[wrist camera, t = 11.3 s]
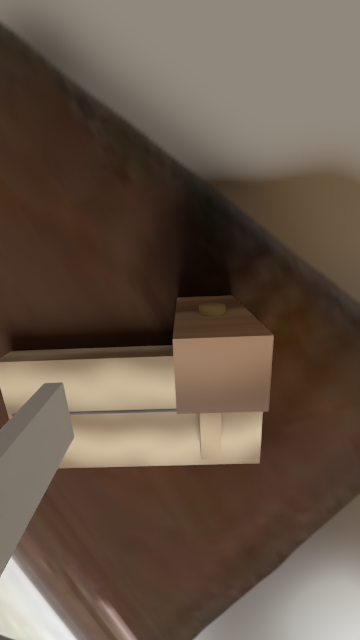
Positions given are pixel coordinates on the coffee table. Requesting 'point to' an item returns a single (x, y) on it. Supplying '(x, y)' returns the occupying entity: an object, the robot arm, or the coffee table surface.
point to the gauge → (219, 363)
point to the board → (124, 407)
